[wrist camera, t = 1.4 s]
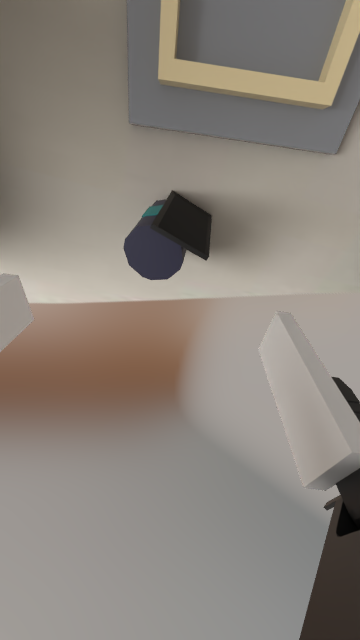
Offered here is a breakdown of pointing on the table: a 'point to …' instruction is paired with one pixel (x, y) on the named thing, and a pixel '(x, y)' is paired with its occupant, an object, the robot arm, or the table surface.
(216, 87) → the mount board
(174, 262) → the speaker
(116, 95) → the table surface
